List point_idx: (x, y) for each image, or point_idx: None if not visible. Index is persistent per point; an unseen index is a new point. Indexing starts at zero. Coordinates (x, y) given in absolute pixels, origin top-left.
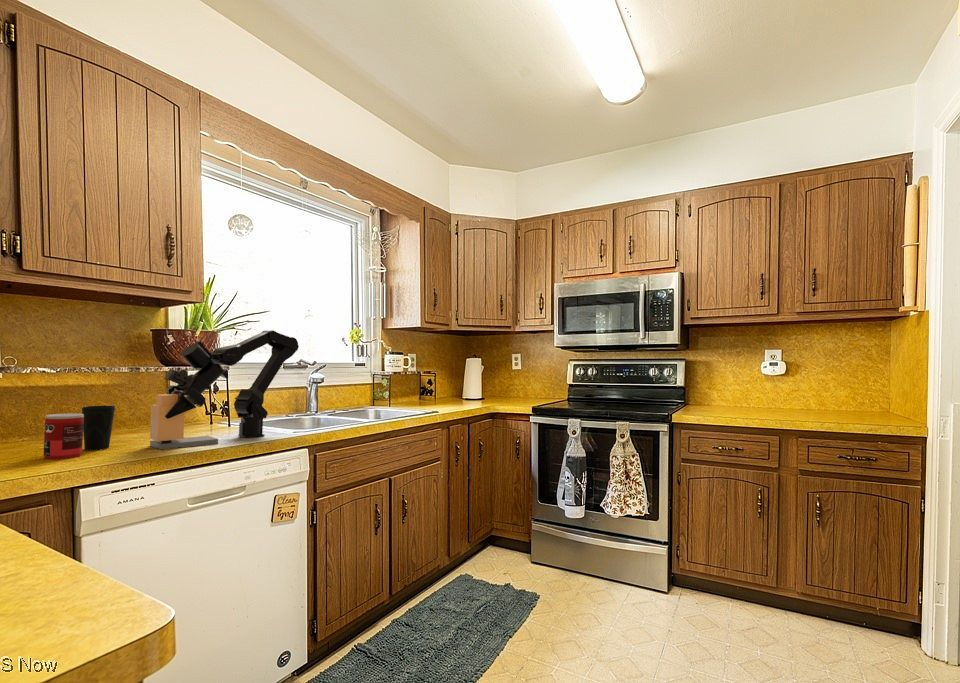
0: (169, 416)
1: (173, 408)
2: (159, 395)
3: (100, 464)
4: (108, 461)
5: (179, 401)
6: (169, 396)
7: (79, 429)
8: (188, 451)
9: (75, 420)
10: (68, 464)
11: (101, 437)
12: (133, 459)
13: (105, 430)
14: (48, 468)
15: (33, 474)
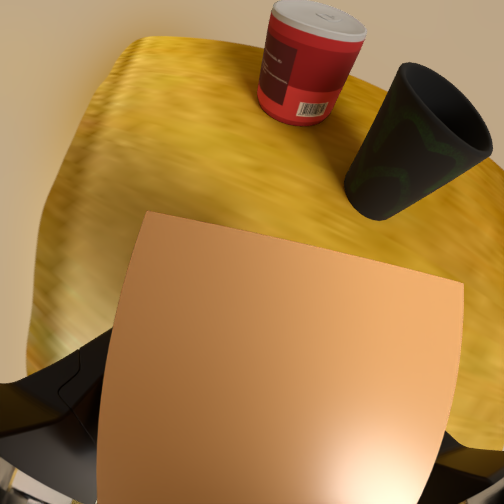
0: None
1: (88, 348)
2: (316, 248)
3: (118, 109)
4: (132, 125)
5: (13, 385)
6: (117, 371)
7: (274, 52)
8: (73, 336)
9: (272, 21)
10: (179, 80)
11: (357, 162)
12: (99, 167)
13: (370, 158)
14: (173, 60)
15: (146, 48)
